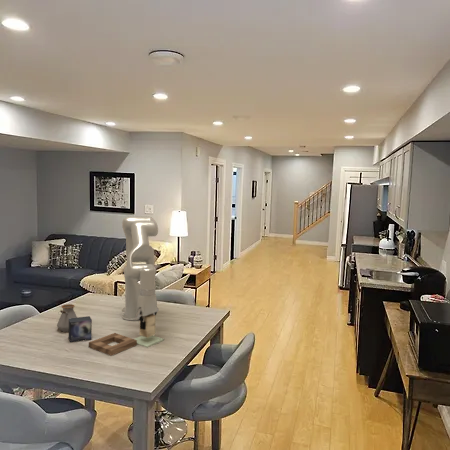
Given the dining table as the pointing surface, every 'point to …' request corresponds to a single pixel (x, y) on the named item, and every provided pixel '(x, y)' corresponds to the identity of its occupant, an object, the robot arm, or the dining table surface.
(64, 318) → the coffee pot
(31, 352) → the dining table surface
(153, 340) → the pad
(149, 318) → the beech block
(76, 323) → the small box
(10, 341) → the dining table surface
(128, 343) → the cradle board
